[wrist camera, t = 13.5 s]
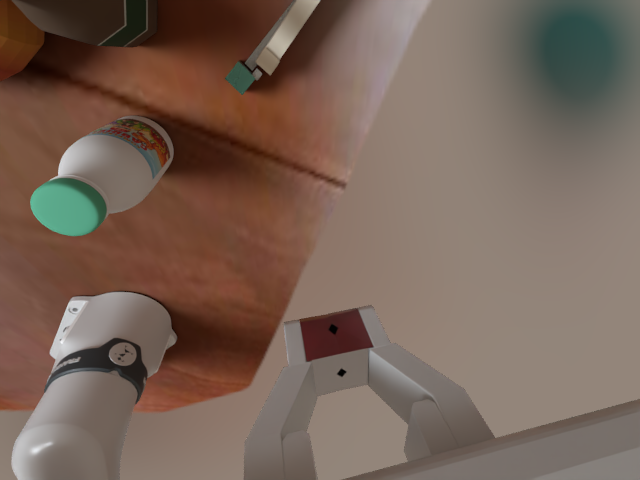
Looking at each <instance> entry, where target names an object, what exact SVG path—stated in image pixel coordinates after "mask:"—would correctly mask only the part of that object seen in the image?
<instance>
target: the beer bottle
mask: <svg viewBox="0 0 640 480" xmlns="http://www.w3.org/2000/svg"><path fill="white" fill-rule="evenodd" d="M12 2H13V3H14V4H15V5H16V6H17V7H18V8H19V9H20V10H21V11H22V12H23V13H24V15H25V16H26V17H27V18H28V19H29V20H30V21H31V22H32V23H33V24H35V25H36V26H37V27H38V28H39V29H41V30H42V31H46V32H49V33H53V34H56V35H60V36H63V37H67V38H70V39H74V40H77V41H81V42H84V43H88V44H92V45H96V46H116V47H137V46H138V45H140V44H141V43H142V42H144V41H145V40H146V39H148V38H149V37H151V36H152V35H153V34H155V33H156V32H157V12H158V0H12Z"/></svg>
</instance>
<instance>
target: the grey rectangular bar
mask: <svg viewBox="0 0 640 480" xmlns="http://www.w3.org/2000/svg"><path fill="white" fill-rule="evenodd" d="M319 2H320V0H296V1H295V2H294V4H293V5H292V7H291V9H290V10H289V12H288V13H287V15H286V16H285V18H284V19H283V21H282V22H281V24H280V25H279V27H278V28H277V30H276V31H275V33H274V34H273V36H272V37H271V39H270V40H269V42H268V43H267V45H266V46H265V47H264V48H263V49H262V51H261V52H260V54H259V55H258V57H257V58H256V60H255V62H256V63H257V64H258V65H259V66H260V67H261V68H262V69H263V70H265V71H266V72H267V73H268V74H269V75H271V74H272V73H273V71H274V70H275V68H276V67H277V65H278V64H279V62H280V61H279V60H280V59H281V57H282V56H283V54H284V53H285V51H286V50H287V48H288V47H289V45H290V44H291V43H292V41H293V40H294V38H295V37H296V35H297V34H298V32H299V31H300V29H301V28H302V26H303V25H304V24H305V22H306V21H307V19H308V18H309V16H310V15H311V13H312V12H313V10H314V9H315V7H316V6H317V5H318V3H319Z"/></svg>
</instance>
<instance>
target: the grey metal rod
mask: <svg viewBox="0 0 640 480" xmlns="http://www.w3.org/2000/svg"><path fill="white" fill-rule="evenodd" d="M295 1H296V0H293V2H292V3H291V4H290V6H289V7H288V8H287V9H286V11H285V12H284V13H283V14H282V16H281V17H280V18H279V20H278V21H277V22H276V23H275V25H274V26H273V27H272V29H271V30H270V31H269V32H268V34H267V35H266V36H265V38H264V39H263V40H262V41H261V43H260V44H259V45H258V47H257V48H256V49H255V50H254V52H253V53H252V54H251V56H250V57H249V58H248V59H247V61H246V62H245V64H246V65H247V66H248V67H249V68H250V69H251V70H252V71H253V70H254V68H255V67H256V66H257V65H258V64H257V63H256V62H255V60H256V58H257V57H258V55H259V54H260V52H261V51H262V49H263V48H264V47H265V46H266V45H267V43H268V42H269V40H270V39H271V37H272V36H273V34H274V33H275V31H276V30H277V28H278V27H279V25H280V24H281V22H282V21H283V19H284V18H285V16H286V15H287V13H288V12H289V10H290V9H291V7H292V5H293V4H294V2H295Z"/></svg>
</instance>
